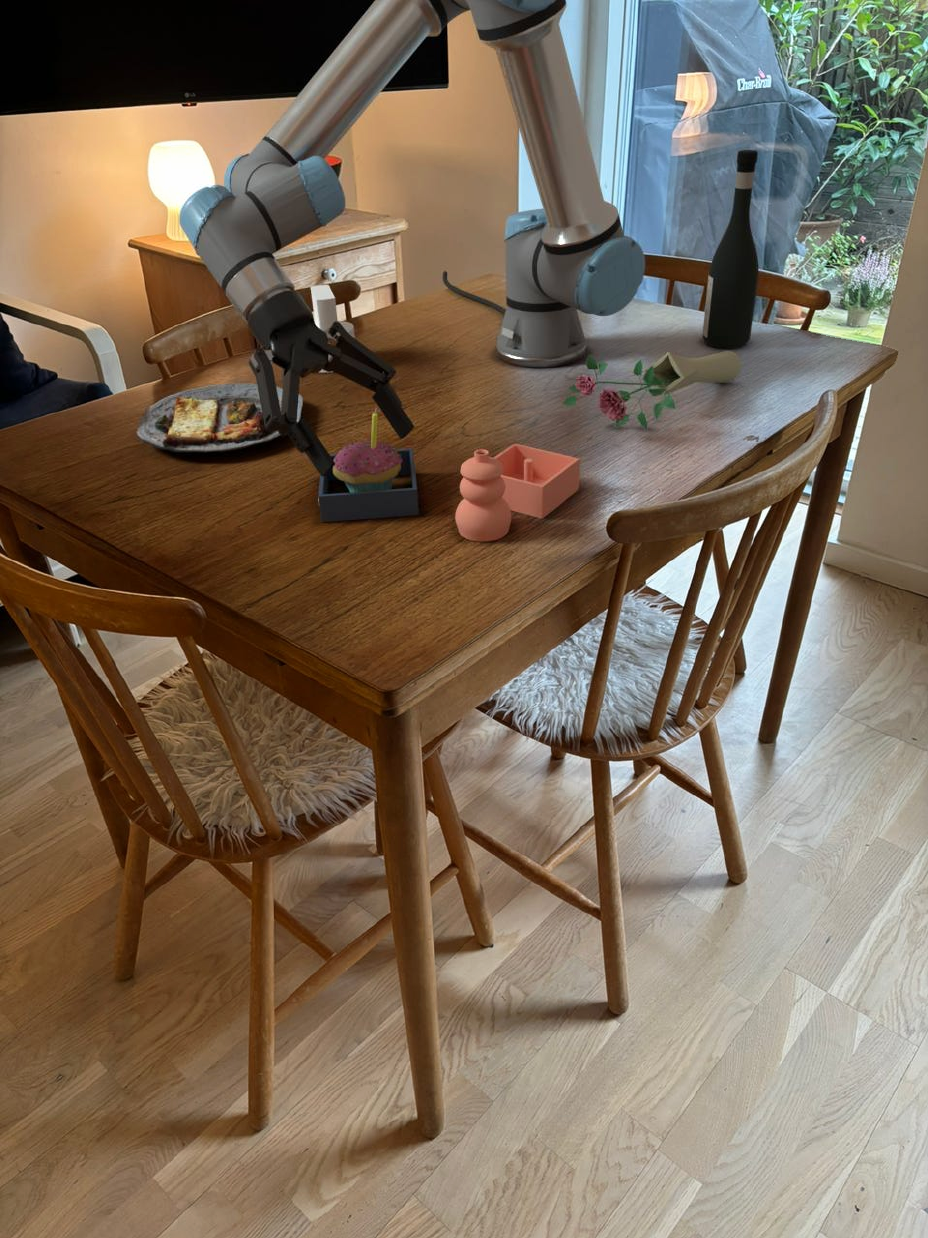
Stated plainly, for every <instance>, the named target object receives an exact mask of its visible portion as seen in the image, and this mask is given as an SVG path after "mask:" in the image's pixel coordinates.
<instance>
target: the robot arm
mask: <svg viewBox="0 0 928 1238" xmlns="http://www.w3.org/2000/svg"><path fill="white" fill-rule="evenodd" d="M567 6H568V4H567V0H374V1H373V2H372V4H371V5H370V6H369V7H368V9H367V10H366V11H365V13H364V14H363V15H362V16H361V18H359V20H358V21H357V22H356V23H355V25H354V26H353V27H352V29H351V30H349V32H347V33H348V34H346V36H345V37H344V38H343V40H341V42H340V43H339V45H338V46H337V47H336V48H335V49H334V50H333V52H332V53H331V54H330V56H329V57H328V58H327V59H326V60H325V62H324V63H323V64H322V66H320V68H319V69H318V70H317V72H315V74H314V75H313V76H312V78H311V79H310V80H309V82H308V83H307V84H306V85H305V86H304V88H303V89H302V90H300V92H299V93H298V95H297V96H296V97H295V99H294V100H293V101H292V102H291V103H290V104H289V106H288V107H287V108H286V109H285V111H284V112H283V114H282V115H281V116H280V117H279V118H278V120H276V122H275V123H274V125H272V126H271V128H270V129H269V131H268V132H267V133H266V134H265V135H264V136H263V137H262V139H261V140H260V141H259V142H258V143H257V144H256V145H255V147H254V148H253V149H252V150H251V152H250V153H245V154H241V155H239V156H237V157H235V158H233V160H231V161H230V162H229V164H228V165H227V167H226V169H225V172H224V177H223V185H221V184H213V185H212V186H203V187H202V188H200V189H198V190H197V191H195V192H194V193H193V194H192V195H190V196H189V197H188V198H187V200H186V201H185V202H184V203H183V205H182V207H181V208H180V212H179V216H178V218H179V219H178V220H179V221H178V222H179V226H180V227H181V230H182V231H183V233H184V234H185V236H186V237H187V239H188V241H189V242H190V244H191V246H192V248H193V249H194V251H195V254H196V255H197V256H198V257H199V258H200V260H201V261H202V262H203V264H204V266H205V267H206V268H207V270H208V271H209V272H210V274H211V275H212V276H213V278H214V280H215V281H216V282H217V284H218V285H219V287H220V288H221V290H222V291H223V293H224V294H225V295H226V297H227V298H228V300H229V301H230V303H231V305H232V306H233V307H234V310H235V311H237V313H238V315H239V316H240V318H241V319H242V320H243V322H245V323H247V328H248V329H249V331H250V332H251V334H252V336H253V337H254V339H255V340H256V341H257V343H258V344H259V346H260V347H257V348H255V350H254V352H253V353H252V355H251V357H250V358H249V360H248V365H249V367H250V369H251V371H252V373H253V374H254V377H255V380H256V381H255V382H256V384H257V386H258V392H259V397H260V403H261V408H262V414H263V420H264V425H265V429H266V430H267V431H268V432H270V433H271V432H274V431H275V430H278V433H279V434H281V435H285V436H288V438H289V440H290V441H291V443H292V444H293V445H294V446H295V448H296V449H297V451H298V452H299V453H301V454H303V453H305V455H306V456H307V457H308V459H309V461H310V462H311V463H312V465H313V466H314V468H315V469H316V470H317V472H318V473H319V476H320V475H321V476H322V477H323V476H325V475H327V474H328V472H329V471H330V470H331V469H332V468H333V467H334V465H335V462H334V461H333V459H332V458H331V456H330V455H331V454H329V452H328V450H327V449H326V448H325V446H324V445H323V443H322V442H321V440H320V438H319V437H318V436H317V434H316V433H315V432H314V430H313V428H312V426H310V424H309V423H308V421H307V420H306V418H305V417H303V418H300V420H299V421H298V422H297V421H296V420H297V412H298V397H299V395H300V383H301V382H300V381H301V380H300V379H304V378H307V377H308V376H309V375H310V374H317V373H321V372H320V371H321V370H322V369H323V370H325V371H327V372H329V373H336V374H337V375H339V376H341V377H343V378H345V379H347V380H350V381H351V382H353V383H355V384H357V385H360V386H362V387H364V388H365V389H367V390H369V391H372V392H373V393H374V394H373V395H372V397H371V398H372V399H373V401H374V402H375V404H376V405H377V408H379V409H380V411H381V413H382V414H383V416H384V417H385V418H386V420H387V422H388V423H389V424H390V426H391V427H392V429H393V430H394V432H395V434H396V435H397V436H398V437H399V439H400V440H402V439H404V438H406V437H407V435H408V434H410V432H411V431H412V430H413V429H414V428H415V425H414V424H413V422H412V420H411V419H410V417H409V416H408V414H407V413H406V412H405V410H404V409H403V407H402V406H403V401H402V399H400V397H399V396H398V395H397V393H396V391H395V390H394V387H392V385H391V380H392V379H393V378H394V376H396V374H397V370H396V369H395V367H393V366H392V365H391V364H389V363H388V362H387V361H385V360H384V359H383V358H382V357H380V356H379V355H377V353H375V352H373V351H372V350H371V349H370V348H368V347H367V346H366V345H364V344H363V343H362V342H360V341H359V340H358V339H356V337H355V338H354V337H352V336H351V335H350V334H349V333H348V332H347V331H346V330H345V328H344V327H343V326H342V325H341V324H340V323H339V322H337V321H335V322H334V323H333V324H332V326H331V327H330V328H328V329H326V330H325V331H323V330H321V329H320V328H319V327H317V325H316V324H315V317H314V312H313V311H312V310H311V309H310V307H309V306H308V304H307V303H306V301H305V300H304V298H303V297H302V295H301V294H300V293H299V292H298V291H296V287H295V285H294V283H293V282H292V280H291V279H290V277H289V276H288V275H287V273H286V272H285V270H284V268H283V267H282V266H281V264H280V263H279V262H278V260H277V259H276V258H275V256H274V254H275V253H277V252H278V251H280V250H282V249H284V248H286V247H288V246H290V245H292V244H293V243H294V242H297V241H299V240H301V239H302V238H304V237H306V236H308V235H310V234H311V233H313V232H315V231H317V230H319V229H320V228H323V227H326V226H327V225H328V224H329V223H331V222H332V221H333V220H335V219H336V218H338V217H339V216H341V215H343V213H344V211H345V210H346V195H345V192H344V189H343V187H342V184H341V182H340V179H339V177H338V175H337V173H336V172H335V170H334V168H333V167H332V166H331V165H330V163H329V162H328V161H327V160H326V159H327V158H328V156H329V155H330V154H331V152H332V151H333V150H334V149H335V148H336V146H337V145H338V144H339V143H340V142H341V140H343V138H344V137H345V135H346V134H347V133H348V132H349V131H350V130H351V128H352V127H353V126H354V125H355V123H356V122H357V121H358V120H359V118H360V117H361V116H362V115H363V113H365V111H366V110H367V109H368V108H369V107H370V105H371V104H372V103H373V102H374V100H376V98H377V97H378V96H379V94H380V93H381V92H382V91H383V90H384V88H385V87H386V86H387V85H388V83H389V82H391V80H392V79H393V78H394V77H395V75H396V74H397V73H398V71H399V70H400V69H401V68H402V67H403V66H404V64H405V63H406V62H407V61H408V60H409V58H410V57H411V56H412V55H413V53H414V52H415V51H416V50H417V49H418V47H420V45H421V44H422V43H423V41H424V40H425V39H426V38H427V37H438V36H439V35H440V34H441V33H442V31H443V30H444V29H445V27H446V26H448V25H449V24H450V22H452V21H454V19H456V18H457V17H458V16H460V15H461V14H464V13H466V12H469V11H470V13H471V16H472V17H471V18H472V20H473V23H474V26H475V30H476V32H477V35H478V39H479V41H480V43H482V44H484V45H486V46H487V47H489V48H491V49H493V50H494V51H495V53H496V57H497V60H498V63H499V68H500V71H501V73H502V76H503V80H504V83H505V86H506V89H507V93H508V97H509V99H510V103H511V106H512V110H513V113H514V116H515V119H516V123H517V127H518V129H519V133H520V137H521V139H522V143H523V147H524V150H525V153H526V156H527V159H528V163H529V166H530V169H531V172H532V176H533V179H534V182H535V183H534V184H535V185H536V189H537V193H538V195H539V199H540V203H541V206H542V208H535V209H529V210H523V211H518V212H515V213H513V214H510V215H509V216H508V218H507V219H506V221H505V229H504V230H505V231H504V239H503V241H504V244H505V246H504V247H505V248H504V249H505V250H504V251H505V254H504V255H505V291H506V292H505V298H506V301H505V302H506V307H505V308H504V307H502V306H500V305H499V304H497V303H495V302H493V301H491V300H489V299H486V298H483V297H481V296H478V295H476V294H472V293H471V292H467V291H465V290H463V289H460V288H458V287H456V286H455V285H453V284H451V282H449V280H448V272H447V270H444V271H443V272H442V282H443V284H444V285H445V287H446V288H447V289H449V290H450V291H452V292H454V293H456V294H457V295H460V296H461V297H465V298H467V299H470V300H472V301H474V302H477V303H480V304H483V305H485V306H488V307H490V308H492V309H494V310H496V311H497V312H499V313H501V314H502V315H503V319H502V321H501V325H500V329H499V332H498V336H497V339H496V343H495V349H496V352H495V355H496V356H497V358H498V359H499V360H501V361H502V362H505V363H506V364H509V365H513V366H517V367H518V366H519V367H526V368H551V367H552V368H553V367H560V366H565V365H570V364H572V363H575V362H577V361H579V360H581V359H582V358H584V356H585V355H586V349H587V348H586V347H587V342H586V336H585V333H584V330H583V327H582V323H581V319H580V315H579V312H578V311H580V312H581V313H584V314H585V315H586V314H587V315H594V316H597V317H608V316H612V315H615V314H617V313H618V312H620V311H622V310H623V309H624V308H625V307H627V306H628V305H629V304H630V303H631V301H632V300H633V299H634V298H635V296H636V295H637V294H638V291H639V287H640V286H641V285H642V282H643V279H644V276H645V272H646V258H645V257H646V256H645V254H644V251H643V249H642V247H641V245H640V244H639V243H638V242H637V241H636V240H635V239H634V238H632V237H630V236H628V235H627V236H625V233H624V230H623V226H622V225H623V224H622V222H621V217H620V214H619V210H618V208H617V206H615V205H614V204H612V203H610V202H608V201H606V200H605V199H604V194H603V191H602V187H601V183H600V179H599V174H598V171H597V168H596V163H595V159H594V157H593V156H594V155H593V151H592V147H591V143H590V140H589V136H588V132H587V128H586V124H585V121H584V116H583V112H582V108H581V105H580V104H581V103H580V100H579V96H578V93H577V89H576V85H575V82H574V78H573V73H572V70H571V66H570V61H569V58H568V54H567V50H566V46H565V41H564V38H563V35H562V34H563V33H562V30H561V27H560V22H561V19H562V16H563V15H564V12H565V11H566V8H567ZM328 342H329V343H328ZM328 355H330V356H331V358H330V359H329V360H328ZM273 364H274V365H275V366H277V367H279V368H280V369H282V374H281V375H282V376H281V384H282V389H283V391H282V404H281V410H280V404H279V399H278V393H277V388H276V387H277V383H276V378H275V372H274V368H273ZM331 371H333V372H331ZM281 435H280V436H281Z"/></svg>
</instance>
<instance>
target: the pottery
mask: <svg viewBox="0 0 928 1238" xmlns="http://www.w3.org/2000/svg"><path fill="white" fill-rule="evenodd" d="M473 455H474V456H473V457H470V458H468V459H466V460H465V461H464V462H462V464H461V467H460V474H461V476H462V477H463V478H462V479H461V481H460V484H459V492H460V494H461V496H462V498H463V499H462V500H461V501H460V502H459V504H458V506H457V508H456V510H455V516H454V519H455V523H456V526H457V530H458V532H459V534H460V536H461V537H463V538H465V539H467V540H469V541H474V542H482V543H483V542H492V541H496V540H499V539H501V538H503V537H505V536H506V535H507V534H508V533H509V530H510V527H511V523H512V512H514V513H515V512H516V513H520V514H523V515H526V516H530V517H533V518H537V519H541V520H543V519H544V518H545V517H547V516H548V515H549V514H550V513H552V512H553V511H554V510H556V509H557V508H558V507H559V506H560V505H561V504H563V503H564V502H565V501H566V500H567V499H569V498H570V497H571V496H573V495H574V494H575V493H576V492H577V491H579V490H580V465H581V464H580V461H581V460H580V458H578V457H574V456H570V455H567V454H562V453H558V452H554V451H549V450H544V449H540V448H536V447H531V446H527V445H524V444H519V443H512V444H511V445H510V446H508V447H507V448H505V449H504V450H503V451H501V452H499V453H498V454H497V455H495V456H489V455H490V453H489V450H488V449H484V448H481V449H480V448H479V449H476V450H474V452H473Z"/></svg>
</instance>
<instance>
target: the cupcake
mask: <svg viewBox="0 0 928 1238" xmlns="http://www.w3.org/2000/svg"><path fill="white" fill-rule="evenodd" d="M378 420H379V414H378V407H375V409H374V412H373V413H372V417H371V434H370V435H371V436H370V440H363V441H361V440H360V441H354V442H351V443H349V444H346V445H345V446H344V447H342V448H341V449H340V450H339V451H337V453H334V454H335V455H336V457H335V458H334V462H335V465H334V467H333V474H334V475H335V476H336V477H337V478H338V479H340V480H339V481H341V482H344V484H345V486H346V487H347V489H348V491H349V493H351V492H364V491H378V490H391V489H392V487H393V484H394V480H395V478H396V477H398V476H397V474H398V472H399V471H400V470H401V463H402V457H401V455H399V453H398V452H397V451H396V450H397V449H395V447H393V446H392V445H389V444H388V443H386V442H384V441H380V440H378V422H379V421H378Z"/></svg>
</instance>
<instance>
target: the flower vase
mask: <svg viewBox="0 0 928 1238" xmlns="http://www.w3.org/2000/svg"><path fill="white" fill-rule="evenodd" d="M608 365H609V364H608V363H607V362H603V361H601V362H598V364H597V362H596V360H595V358H594V357H593V355H591V354H590V353H589V354H588V356H587V358H586V368H587V370H591V371H592V370H593V371H594V374H595V378H596V379H598V375H601V374H602V373H604V372H605V370H606V368H607V367H608ZM643 366H644V365H643V360H642V358H640V359H639V360H638V361H637V362H636V363H635V366H634V367H633V372H632V373H633V375H635V376H636V377H637V378H638V379H639V382H638V383H637V382H617V381H604V380H603V381H595V380H594V376H593V375H591V376H590V374H587V375H586V374H585V373H583V374H582V375H581V374H579V375H578V376H577V378H576V381H577V382H575V384H573V385H572V386H569V387H568V389H569V390H571V391H572V392H573V393H577V394H579V395H581V397H579V398H577V397H576V396H575V395H574V394H572V395H569V396H568V397H566V398H565V400H564V402H563V405H564V406H566V407H574V406H576V405H577V402H578V401H579V400H580V399H582V398H586V397H587V398H589V397H590V396H593V393H595V390H597V389H599V388H600V387H602V386H603V385H605V384H613V385H626V386H627V385H630V386H631V385H632V386H640V387H638V388H637V389H635V390H633V391H631V392H630V391H628V390H622V389H620V390H617V391H616V389H615V388H610V387H608V386H606V388H603V390H602V391H600V392H599V396H598V399H599V400H598V406H599V409H600V412H601V413H602V414H603V415H605V417H606V418H607V419H609V420H611V421H614V422H615V423H614V428H618V427H622V426H623V425H625V424H626V423H628V422H629V421H630V415H631V414H632V413H633V411H634V410H635V408H636V407H637V405H638V404H639V407H640V412H639V413H638V414H636V417H637V420H638V423H639V424H640V426H641V427H643V428H644V429H645V430H646V431H648V429H649V428H648V420H647V417H646V413H644V412H643V410H642V406H641V402H640V401H641V400H642V398H643V396H644V395H645V394H646V392H648V393H649V394H650V395H651V397H658V396H660V397H663V396H664V397H663V399H662V400H661V401H660V402H657V403H655V404H654V405H653V408H652V411H653V412H652V414H653V417H654V419H655V421H656V422H657V421H658V420H659V418H660V416H661V415H662V411H663V407H666V408H667V409H670V410H676V406H675V402H674V399H673V398H672V397H671V395H670V394H672V393H673V392H676V391H678V390H681V389H684V388H686V387H689V386H691V385H693V384H697V383H717V384H718V383H719V384H727V383H730V382H733V381H734V380H735V379H736V378H738V377H739V375H740V373H741V369H742V364H741V359H740V357H739V356H738V355H737V354H736V352H734V351H731V350H723V351H720V352H716V353H713V354H708V355H705V356H700V357H696V358H691V357H690V358H689V357H684V356H681V355H678V354H675V353H673V352H670V351H667V352H666V353H665V354H663V356H661V357H660V358H659V359H658V360H656V361H655V362H654V363H653V364H652V365H650V366H649V367H648V368H646V370H645V373H644V374H643V377H642V380H643V382H644V383H643V382H642V381H641V378H640V376H642V373H643ZM596 370H598V372H596ZM598 384H601V385H598ZM597 385H598V386H597ZM652 387H655V388H652ZM643 390H645V392H644V393H643V394H642V396H641V397H639V399H638V401H637V403H636V404H635V406H634V407H633V409H632V411H631V412H630V413H629V414H628V413H627V410H628V406H627V405H625V403H626V402H628V401H630V399H632V398H634V399H636V397H635V396H631V395H633V394H636V393H638V392H641V391H643Z"/></svg>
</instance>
